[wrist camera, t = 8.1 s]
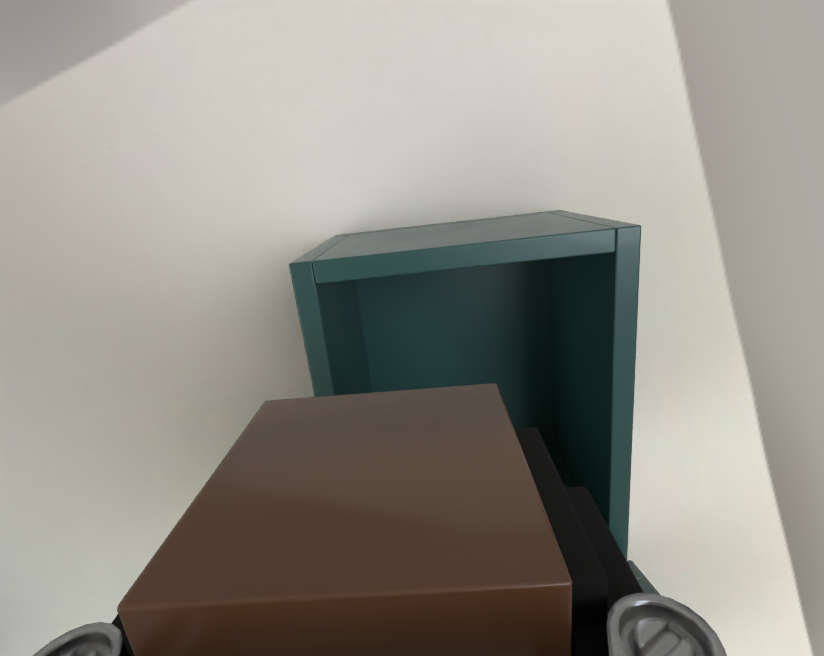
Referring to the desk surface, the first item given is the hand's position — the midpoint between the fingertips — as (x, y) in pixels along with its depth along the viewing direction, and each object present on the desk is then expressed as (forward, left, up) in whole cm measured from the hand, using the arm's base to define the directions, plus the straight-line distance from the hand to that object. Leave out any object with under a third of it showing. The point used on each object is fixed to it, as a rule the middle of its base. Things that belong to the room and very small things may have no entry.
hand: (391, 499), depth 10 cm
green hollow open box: (+2, +2, -15) cm, 16 cm away
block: (0, 0, 0) cm, 0 cm away
